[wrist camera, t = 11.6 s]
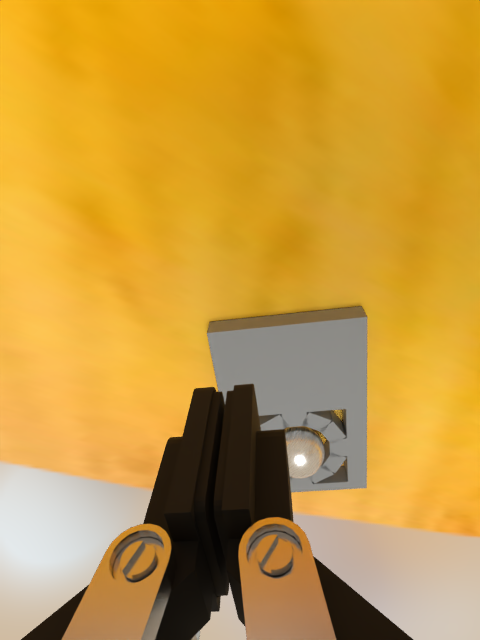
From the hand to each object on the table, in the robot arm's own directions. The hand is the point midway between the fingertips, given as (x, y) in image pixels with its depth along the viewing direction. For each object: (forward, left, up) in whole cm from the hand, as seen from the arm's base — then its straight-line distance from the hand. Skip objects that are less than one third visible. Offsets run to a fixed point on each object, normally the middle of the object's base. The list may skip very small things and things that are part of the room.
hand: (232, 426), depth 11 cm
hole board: (-2, +23, -29) cm, 37 cm away
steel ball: (-2, +28, -26) cm, 38 cm away
